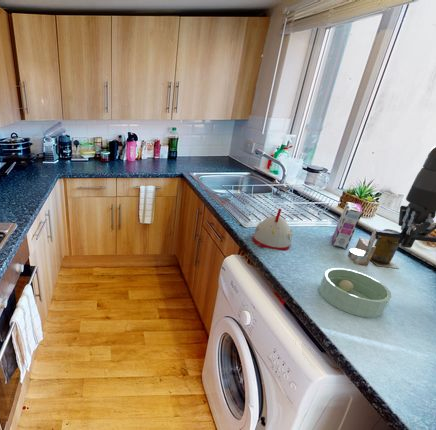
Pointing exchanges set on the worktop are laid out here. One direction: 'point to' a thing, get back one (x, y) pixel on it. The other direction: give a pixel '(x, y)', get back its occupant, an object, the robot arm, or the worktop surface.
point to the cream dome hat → (273, 233)
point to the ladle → (360, 254)
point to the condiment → (385, 251)
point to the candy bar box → (347, 225)
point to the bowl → (355, 293)
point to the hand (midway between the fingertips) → (403, 244)
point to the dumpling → (346, 285)
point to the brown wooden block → (362, 246)
